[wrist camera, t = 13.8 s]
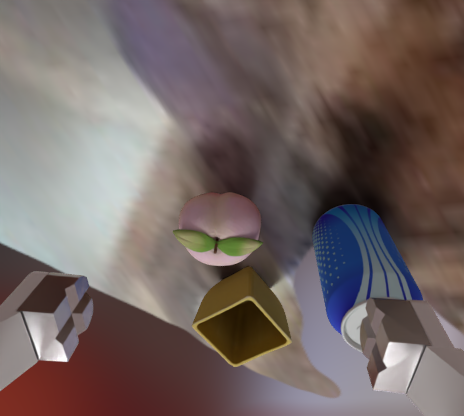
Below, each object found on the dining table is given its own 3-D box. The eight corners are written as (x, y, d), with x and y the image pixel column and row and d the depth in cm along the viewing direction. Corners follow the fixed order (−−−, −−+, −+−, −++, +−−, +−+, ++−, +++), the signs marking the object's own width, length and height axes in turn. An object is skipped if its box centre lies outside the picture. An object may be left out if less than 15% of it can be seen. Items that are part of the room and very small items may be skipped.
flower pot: (253, 248, 47) (251, 295, 39) (289, 291, 50) (293, 343, 42) (202, 276, 50) (189, 325, 42) (238, 315, 53) (233, 368, 45)
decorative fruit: (191, 235, 47) (174, 286, 38) (184, 177, 43) (163, 220, 34) (263, 235, 46) (262, 288, 37) (263, 176, 42) (261, 220, 33)
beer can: (316, 196, 43) (340, 285, 29) (388, 201, 42) (448, 295, 28) (306, 253, 47) (322, 356, 33) (372, 259, 46) (417, 366, 32)
